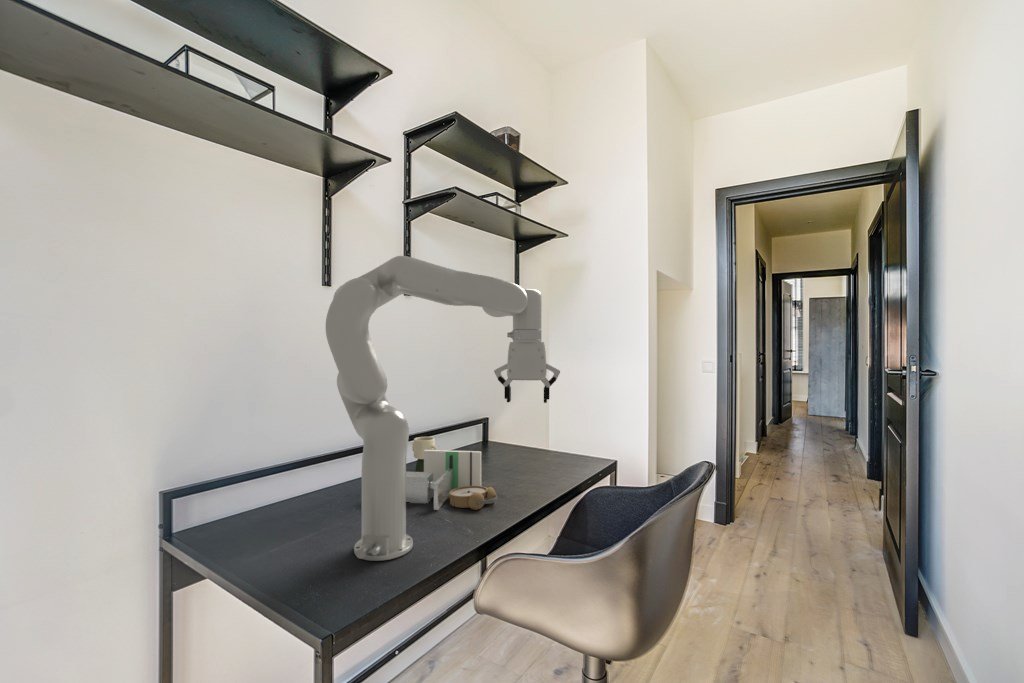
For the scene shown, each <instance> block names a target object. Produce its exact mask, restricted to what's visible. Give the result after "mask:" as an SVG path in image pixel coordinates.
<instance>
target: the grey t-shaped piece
mask: <svg viewBox="0 0 1024 683" xmlns="http://www.w3.org/2000/svg"><path fill="white" fill-rule="evenodd" d="M429 488H433V510H434V511H439V509H440V508H441V507H442V506H443V504H444V503H445V502H446V501H447V499H448V498H446V496H450V494H449V492H450V491H451V490H453V455H450V457H449V468H448V469H447V471H446V472H445V473H444V474H443V475H442V476H441V477H440V478H439V479H438V480H437V481H429Z"/></svg>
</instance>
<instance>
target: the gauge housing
mask: <svg viewBox="0 0 1024 683" xmlns="http://www.w3.org/2000/svg"><path fill="white" fill-rule="evenodd" d="M429 481H433V472H415V471H406V502H410V503H409V504H426V503H427V504H429V502H430V501H431V500H432V499H433V498H434V489H433V488H429ZM432 497H433V498H432ZM431 498H432V499H431ZM430 499H431V500H430Z"/></svg>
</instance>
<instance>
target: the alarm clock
mask: <svg viewBox="0 0 1024 683" xmlns="http://www.w3.org/2000/svg"><path fill="white" fill-rule="evenodd" d="M449 494H450V495H449V496H446V498H447V499H449V505H450V504H451V505H452V507H454V506H455V508H460V509H461V508H462V509H463V508H467V509H468V508H470V509H471V510H473V511H479V510H480V509H483V507H484V505H487V504H488V505H492V504H494V503H495V502H497V501H498V494H497V493H496V491H495V488H493V487H491V486H489V487H486V486H483V485H481V486H464V487H459V488H455V489H453V490H451V491H450V492H449ZM451 505H450V506H451ZM478 509H479V510H478Z"/></svg>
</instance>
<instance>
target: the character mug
mask: <svg viewBox="0 0 1024 683" xmlns="http://www.w3.org/2000/svg"><path fill="white" fill-rule="evenodd" d="M435 441H436V439H435V437H433V436H419V437H415V438H413V442H412V443H411V444H412V447H411V450H412V452H413V457H414V458H415V459H417V460H416V463H415V470H414V472H424V450H438V449H437V448H438V447H437V446H436V442H435Z"/></svg>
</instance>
